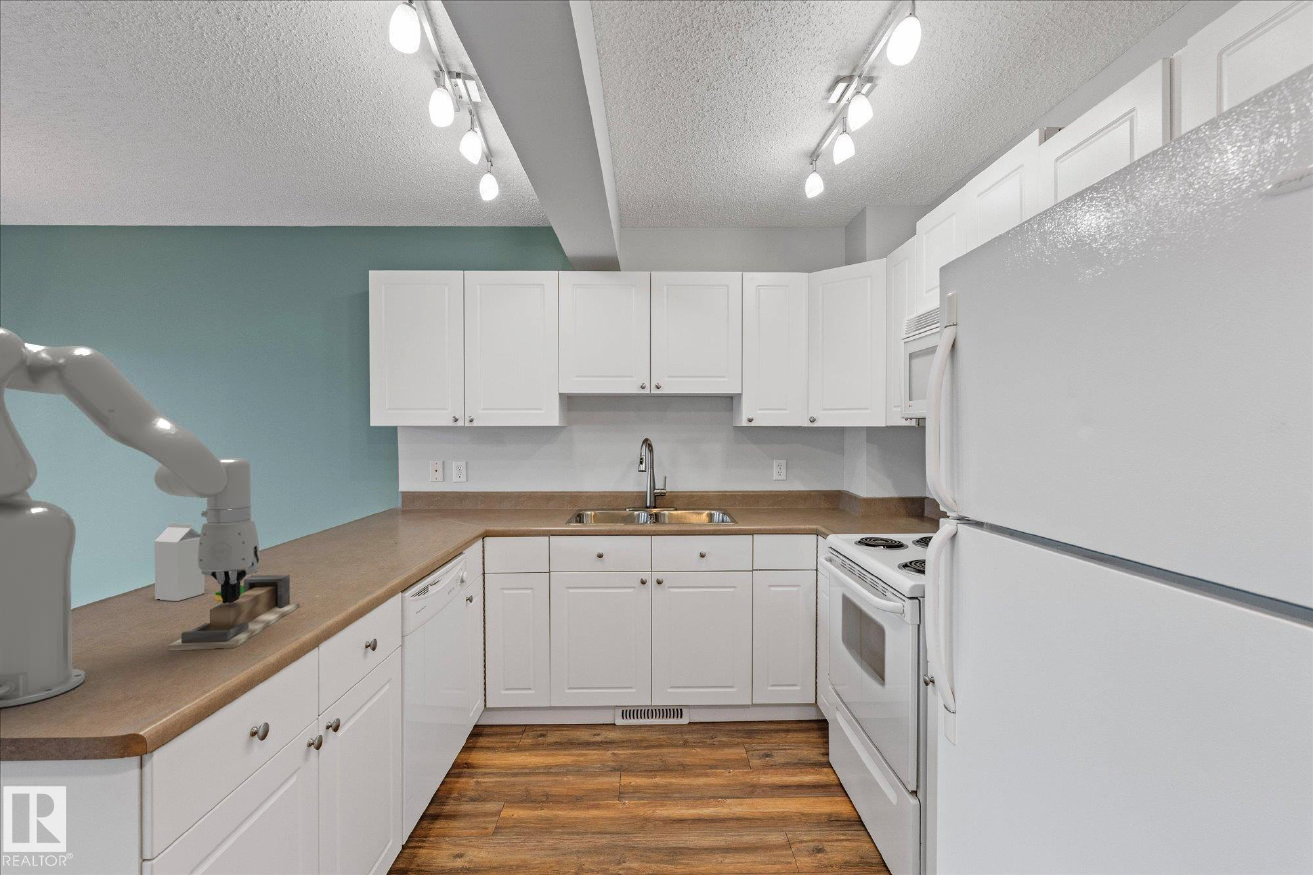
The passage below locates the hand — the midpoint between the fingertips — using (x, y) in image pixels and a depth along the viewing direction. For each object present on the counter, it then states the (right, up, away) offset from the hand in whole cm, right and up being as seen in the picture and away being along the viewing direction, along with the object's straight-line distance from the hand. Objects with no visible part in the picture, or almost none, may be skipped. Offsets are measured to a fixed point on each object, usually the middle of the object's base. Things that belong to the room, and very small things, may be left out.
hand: (230, 601), depth 125 cm
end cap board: (-1, -7, +4) cm, 8 cm away
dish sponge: (-13, -7, +25) cm, 29 cm away
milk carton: (-31, -6, +25) cm, 41 cm away
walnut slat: (-1, -6, +6) cm, 8 cm away
